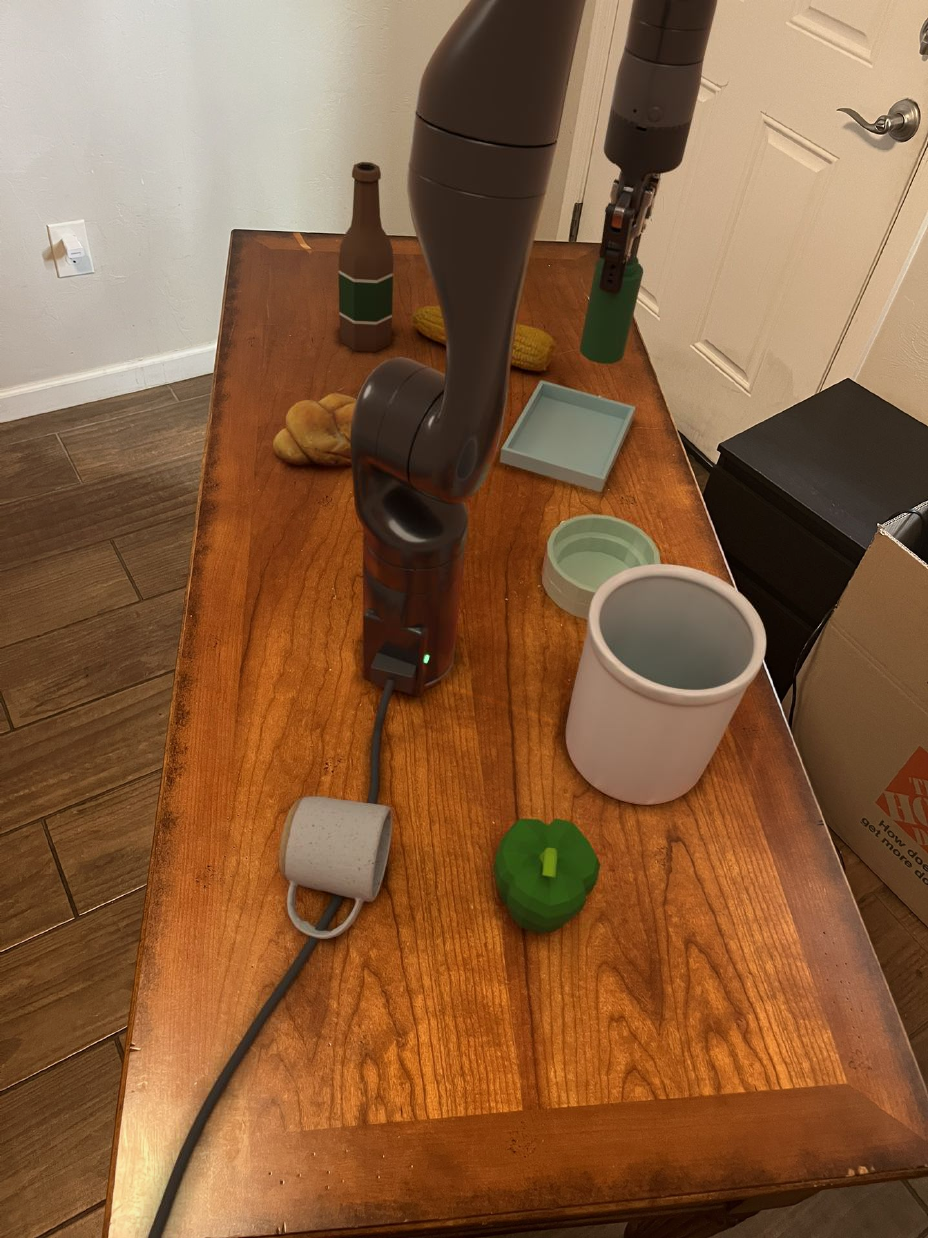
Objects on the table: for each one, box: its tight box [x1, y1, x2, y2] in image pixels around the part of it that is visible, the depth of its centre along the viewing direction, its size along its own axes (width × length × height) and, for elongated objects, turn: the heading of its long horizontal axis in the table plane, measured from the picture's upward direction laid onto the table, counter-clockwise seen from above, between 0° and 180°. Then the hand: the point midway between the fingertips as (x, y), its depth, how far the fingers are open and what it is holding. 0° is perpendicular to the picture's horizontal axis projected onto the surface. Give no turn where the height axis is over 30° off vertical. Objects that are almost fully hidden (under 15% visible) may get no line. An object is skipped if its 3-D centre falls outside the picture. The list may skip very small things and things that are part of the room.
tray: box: [499, 379, 637, 493], centre depth 120 cm, size 16×13×3 cm
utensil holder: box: [565, 563, 767, 806], centre depth 85 cm, size 15×15×18 cm
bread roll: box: [272, 392, 357, 467], centre depth 113 cm, size 13×10×8 cm
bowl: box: [541, 513, 662, 621], centre depth 103 cm, size 12×12×5 cm
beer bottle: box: [338, 161, 394, 353], centre depth 125 cm, size 8×8×24 cm
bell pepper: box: [492, 818, 601, 935], centre depth 76 cm, size 8×8×10 cm
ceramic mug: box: [278, 795, 393, 940], centre depth 76 cm, size 11×8×8 cm
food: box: [411, 305, 557, 372], centre depth 131 cm, size 21×6×6 cm, turn 68°
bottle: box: [579, 236, 644, 365], centre depth 100 cm, size 5×5×14 cm
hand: (616, 277), depth 99 cm, fingers closed on bottle, 5 cm apart
